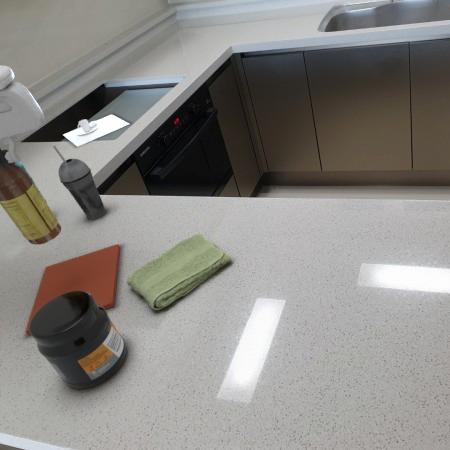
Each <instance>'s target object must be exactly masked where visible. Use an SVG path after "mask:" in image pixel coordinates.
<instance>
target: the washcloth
mask: <svg viewBox="0 0 450 450" xmlns="http://www.w3.org/2000/svg"><path fill="white" fill-rule="evenodd" d="M231 260H232V258H231V256H230V255H229V254H228V253H227V252H225V251H224V250H223V249H222V248H221V247H219V245H217V244H215V243H213V241H211V240H209V239H207V238H205V236H203V234H202V233H199V234H194V235H192V236H189V237H188V238H185V239H183V240H181V241H180V242H178V243H177V244H175V245H174V246H172V247H171V248H169V249H168V250H166V251H165V252H163V253H162V254H161V255H159V256H158V257H156V258H154V259H152V260H151V261H149V262H146V263H145V264H144V265H143V266H141V267H139V268H138V269H136V270H134V271H133V272H132V274H131V275H129V277H128V278H127V280H126V284H127V286H128V287H130V288H131V289H132V290H133V291H135V293H137V295H140V296H142V297H143V298H144V301H146V303H147V304H148V306H149V307H150V309H152V310H154V311H160V310H163V309H165V308H167V307H168V306H169V305H171V304H172V303H174V302H175V301H177V300H178V299H180V298H181V297H185V296H186V295H188V294H189V293H190V292H192V291H193V290H194V289H195V288H197V287H198V286H199V285H200V284H203V282H205V281H206V280H207V279H209V278H210V277H211V276H212V275H213V274H215V273H216V272H217V271H218V270H220V268H223V267H224V266H225V265H227V263H229V262H230V261H231Z"/></svg>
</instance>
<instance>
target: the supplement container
mask: <svg viewBox="0 0 450 450" xmlns="http://www.w3.org/2000/svg"><path fill="white" fill-rule="evenodd" d="M29 332H30V335H31V337H32V339H33V340H35V342H36V346H37V347H36V348H37V351H38V352H39V353H40V355H41V356H42V357H44V358H45V359H46V360H47V362H48V363H49V364H50V365H51V367H52V368H53V369H54V371H55V372H56V373H57V374H58V375H59V377H60V378H61V380H62V381H63V382H64V384H66V385H68V386H69V387H71V388H75V389H86V388H91V387H93V386H96V385H99V384H101V383H103V382H104V381H105V380H107V379H108V378H110V377H111V376H112V375H114V373H116V371H117V370H118V369H119V368H120V367H121V365H122V364H123V361H124V360H125V357H126V355H127V344H126V341H125V339H124V338H123V336H122V335H121V333H120V332H119V330H118V329H117V327H116V326H115V324H114V323H113V321H112V319H111V317H110V316H109V314H108V312H107V309H105V308H104V307H102V306H101V305H99V304H97V302H96V301H95V299H94V298H93V296H92V295H91V294H90V293H88V292H86V291H72V292H68V293H65V294H62V295H60V296H58V297H56V298H54V299H52V300H51V301H49V302H48V303H46V304H45V305H44V306H42V307H41V308H40V309H39V310H38V311H37V312H36V314H35V315H34V316H33V318H32V320H31V322H30V325H29Z"/></svg>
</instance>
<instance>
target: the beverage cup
mask: <svg viewBox="0 0 450 450" xmlns="http://www.w3.org/2000/svg"><path fill="white" fill-rule="evenodd" d="M52 148H53V149H54V150H55V152H56V153H57V154H58V156H59V157H60V159H61V160H62V162H61V164H60V166H59V167H58V178H59V181H60V183H61V184H62V185H63V187H65V189H66V190H67V191H68V192H69V193H70V195H71V196H72V198H73V199H74V201H75V202H76V204H77V205H78V207H79V208H80V209H81V210H82V212H83V213H84V215H85V216H86V217H87V218H88V220H92V221H93V220H97V219H99V218H101V217H103V216H104V215H105V214H106V212H107V210H106V208H105V205H104V202H103V200H102V197H101V196H100V193H99V190H98V188H97V186H96V183H95V181H94V176H93V173H92V169H91V168H90V167H89V166H88V164H87V163H85V162H84V161H83V160H81V159H79V158H68V159H65V158H64V156H63V155H62V154H61V152H60V151H59V149H58V148H57V146H56V145H53V146H52Z"/></svg>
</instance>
